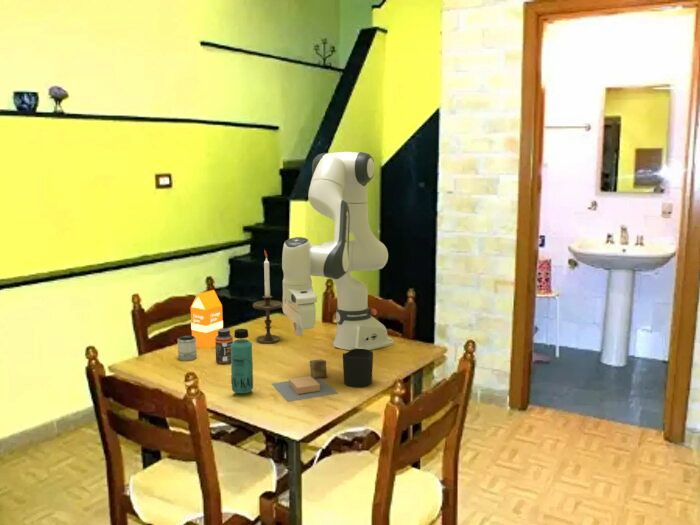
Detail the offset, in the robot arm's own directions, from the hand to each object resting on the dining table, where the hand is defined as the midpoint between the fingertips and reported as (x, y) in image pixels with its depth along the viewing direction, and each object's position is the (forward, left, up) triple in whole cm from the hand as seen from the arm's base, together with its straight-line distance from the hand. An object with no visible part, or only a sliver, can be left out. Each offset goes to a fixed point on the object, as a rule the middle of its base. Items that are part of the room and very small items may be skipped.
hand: (298, 335), depth 205 cm
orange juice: (+17, -53, -16) cm, 58 cm away
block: (-8, -3, -15) cm, 17 cm away
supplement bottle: (+16, -30, -16) cm, 38 cm away
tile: (0, +2, -14) cm, 14 cm away
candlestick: (-5, -48, -16) cm, 51 cm away
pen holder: (-17, +8, -16) cm, 24 cm away
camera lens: (+27, -39, -16) cm, 51 cm away
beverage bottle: (+18, +2, -16) cm, 24 cm away
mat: (0, +6, -16) cm, 17 cm away
